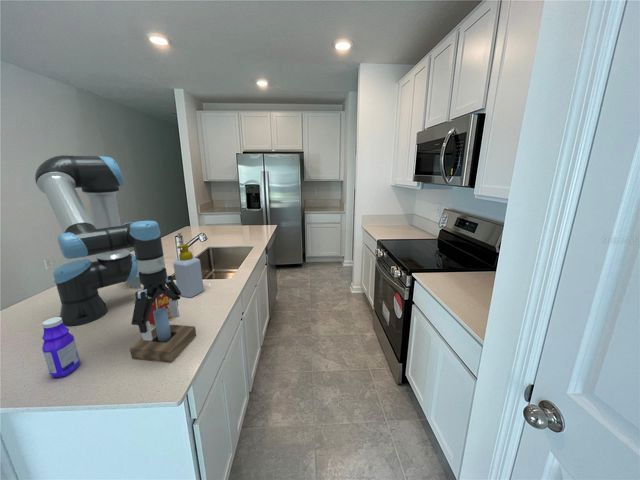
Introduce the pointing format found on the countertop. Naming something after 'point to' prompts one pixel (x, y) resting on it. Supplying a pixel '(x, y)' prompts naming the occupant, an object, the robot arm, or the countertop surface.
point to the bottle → (59, 348)
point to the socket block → (164, 345)
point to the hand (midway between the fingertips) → (162, 327)
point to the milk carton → (160, 302)
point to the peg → (162, 325)
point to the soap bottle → (188, 273)
